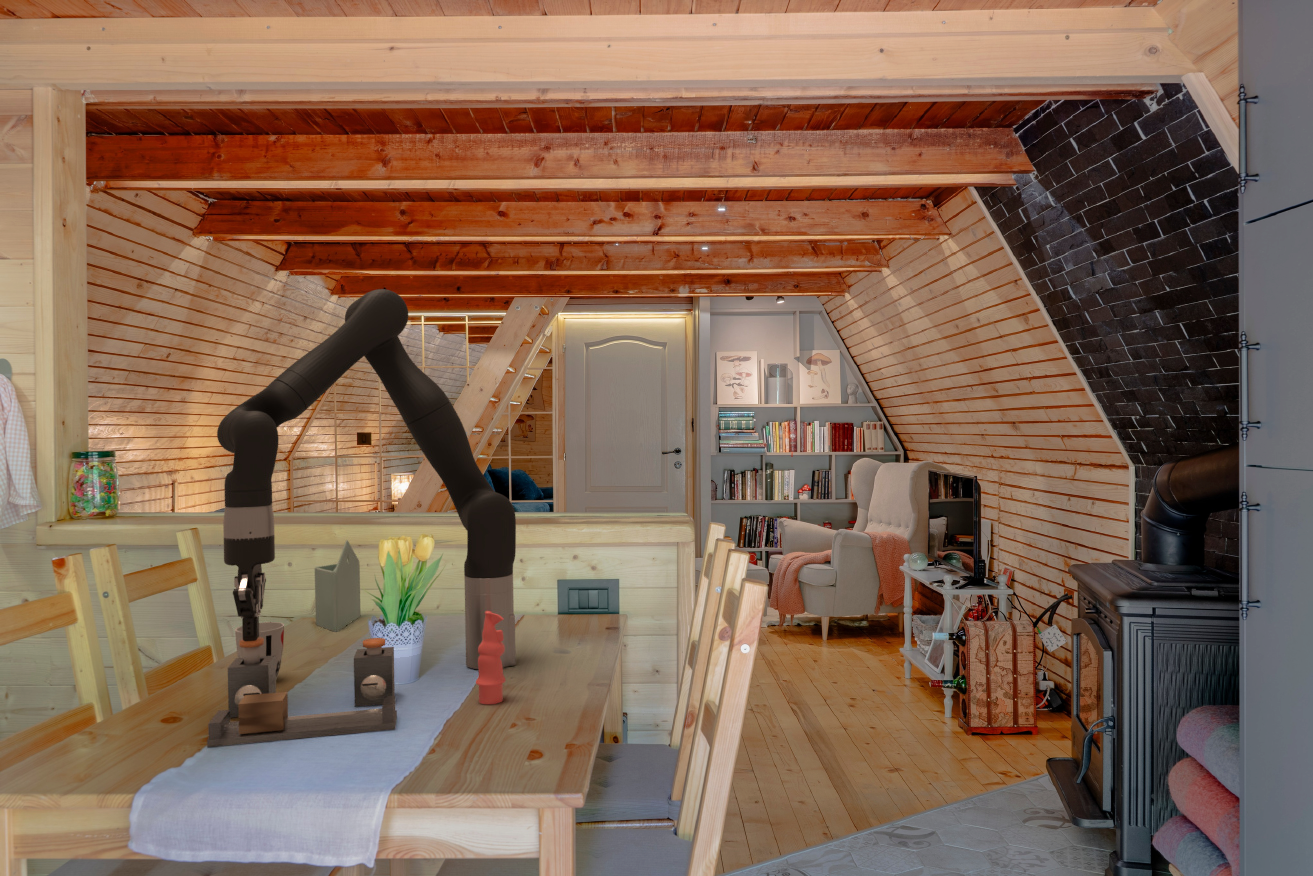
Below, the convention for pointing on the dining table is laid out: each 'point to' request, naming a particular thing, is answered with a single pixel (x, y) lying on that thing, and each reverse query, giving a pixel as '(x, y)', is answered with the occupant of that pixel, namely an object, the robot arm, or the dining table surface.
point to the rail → (305, 725)
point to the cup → (266, 641)
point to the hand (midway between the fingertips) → (251, 639)
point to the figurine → (491, 661)
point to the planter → (338, 591)
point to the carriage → (263, 712)
